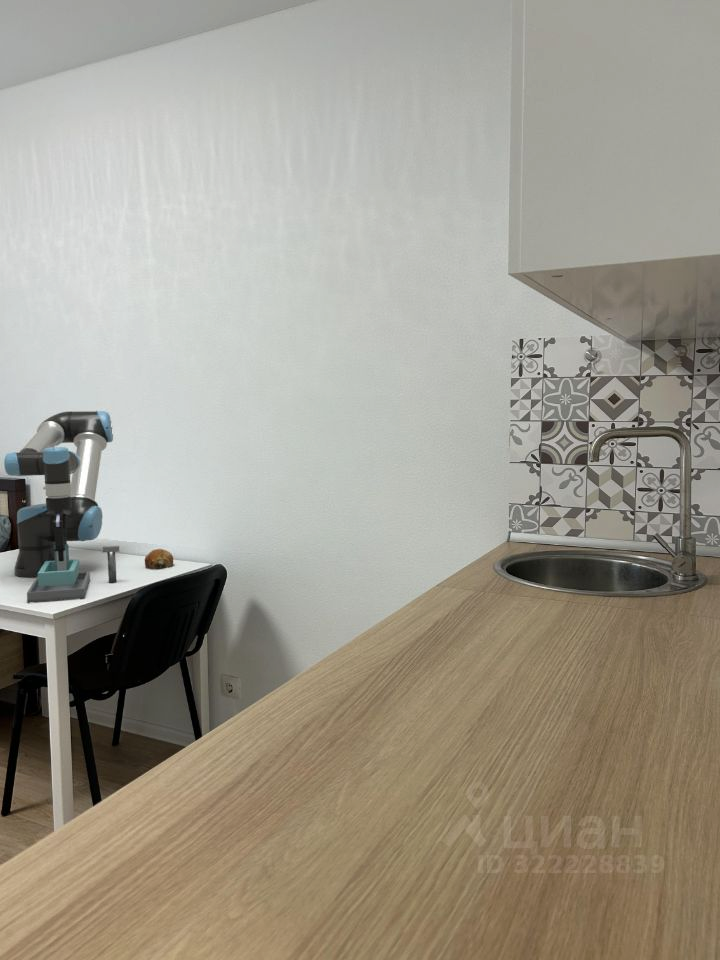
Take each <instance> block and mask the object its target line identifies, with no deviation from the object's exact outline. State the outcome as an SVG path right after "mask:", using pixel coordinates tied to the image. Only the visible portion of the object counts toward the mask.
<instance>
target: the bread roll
mask: <svg viewBox="0 0 720 960" xmlns="http://www.w3.org/2000/svg"><path fill="white" fill-rule="evenodd" d="M173 565H174V556H173V554H172V553H171V552H170V551H168V550H166V549H164V548H157V549H152V550H150V552H148V554H147V555H146V556H145V557H144V566H145V569H149V570H162V568H164V569H167V567H168V568H170V566H171V567H172V566H173Z"/></svg>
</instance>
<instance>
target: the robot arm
mask: <svg viewBox="0 0 720 960" xmlns="http://www.w3.org/2000/svg"><path fill="white" fill-rule="evenodd" d="M110 419H111V416H110V414H109V412H107V411H102V410H100V411H99V410H95V411H94V410H92V411H91V410H90V411H84V410H82V411H77V410H76V411H62V412H60V413H59V412H58V413H56V414H54V415H51V416H49V417H47V418H46V419H45V420H43V422H41V423H40V424H39V425H38V427H37V429H36V433H35V434H34V435H33V437H32V438H30V439H29V441H28V442H27V443H26V444H25V445H24V446H23V447H22V449H21V450H20V451H19V452H16V451H15V452H8V453H7V454H6V455H5V456H4V464H3V465H4V470H5V473H6V474H7V475H8V476H13V477H14V476H15V477H25V476H26V477H27V476H31V477H33V476H44V483H45V484H44V485H45V486H43V488H42V489H43V490H44V491H45V497H46V498H45V503H40V504H32V505H28V506H25V507H22V508H19V510H18V511H17V513H16V514H17V515H16V519H17V520H16V524H17V525H16V526H17V538H18V539H17V540H18V554H17V558H16V562H15V565H14V576H16V577H21V578H37V576H38V572H39V571H40V569H41V567H42V566H43V564H44V563H45V561H55V551H56V554H57V571H66V570H67V565H66V550H65V544H68V542H85V541H93V540H95V539H97V538H98V536H99V535H100V534H101V530H102V525H103V509H102V507H100V506H99V504H98V502H97V501H95V500H96V494H97V488H98V487H97V485H98V479H99V474H100V473H99V471H100V465H101V458H102V451H104V450H105V449H106V448H107V446H108V443H112V442H113V441H114V433H113V434H112V429H113V426H112V427H111V423H112V419H111V420H110ZM67 443H68V444H69V443H71V444H74V446H75V447H76V452H74V451H71V450H69V448H68V447H65V446H64V447H63V446H60V445H61V444H67ZM58 446H59V447H58ZM71 475H72V477H71ZM54 546H55V549H54ZM69 547H70V546H69V545H68V549H69Z"/></svg>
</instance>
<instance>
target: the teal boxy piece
mask: <svg viewBox="0 0 720 960" xmlns="http://www.w3.org/2000/svg"><path fill="white" fill-rule="evenodd" d="M68 546H69V544H68V543H67V544H65V550H66V565H67V570H66V571H57V554H56V551H55V561H45V563H44V564H43V566H42V567H41V569H40V571H39V572H38V587H43V586H57V585H71V584H75V582H76V579H77V577H78V574H79V572H81V571H80V559H78V558H76V559H75V558H74V559H70V553H69V548H68ZM54 549H55V546H54Z"/></svg>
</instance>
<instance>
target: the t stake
mask: <svg viewBox="0 0 720 960" xmlns="http://www.w3.org/2000/svg"><path fill="white" fill-rule="evenodd" d="M117 552H118V553H119V552H120V545H111V546H110V545H109V546H108V545H107V546H102V553H107V570H108V572H107V573H108V583H109V584H115V583H117V581H118V580H117V563H116V562H117V561H116V560H117V559H116V553H117Z"/></svg>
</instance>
